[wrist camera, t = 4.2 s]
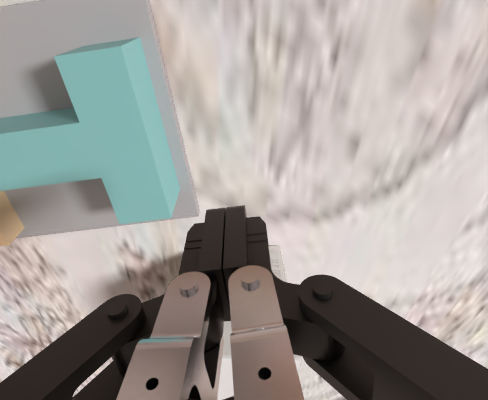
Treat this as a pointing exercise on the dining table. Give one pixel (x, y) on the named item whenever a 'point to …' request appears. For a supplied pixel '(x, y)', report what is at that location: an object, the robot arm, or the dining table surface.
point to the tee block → (98, 134)
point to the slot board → (56, 97)
